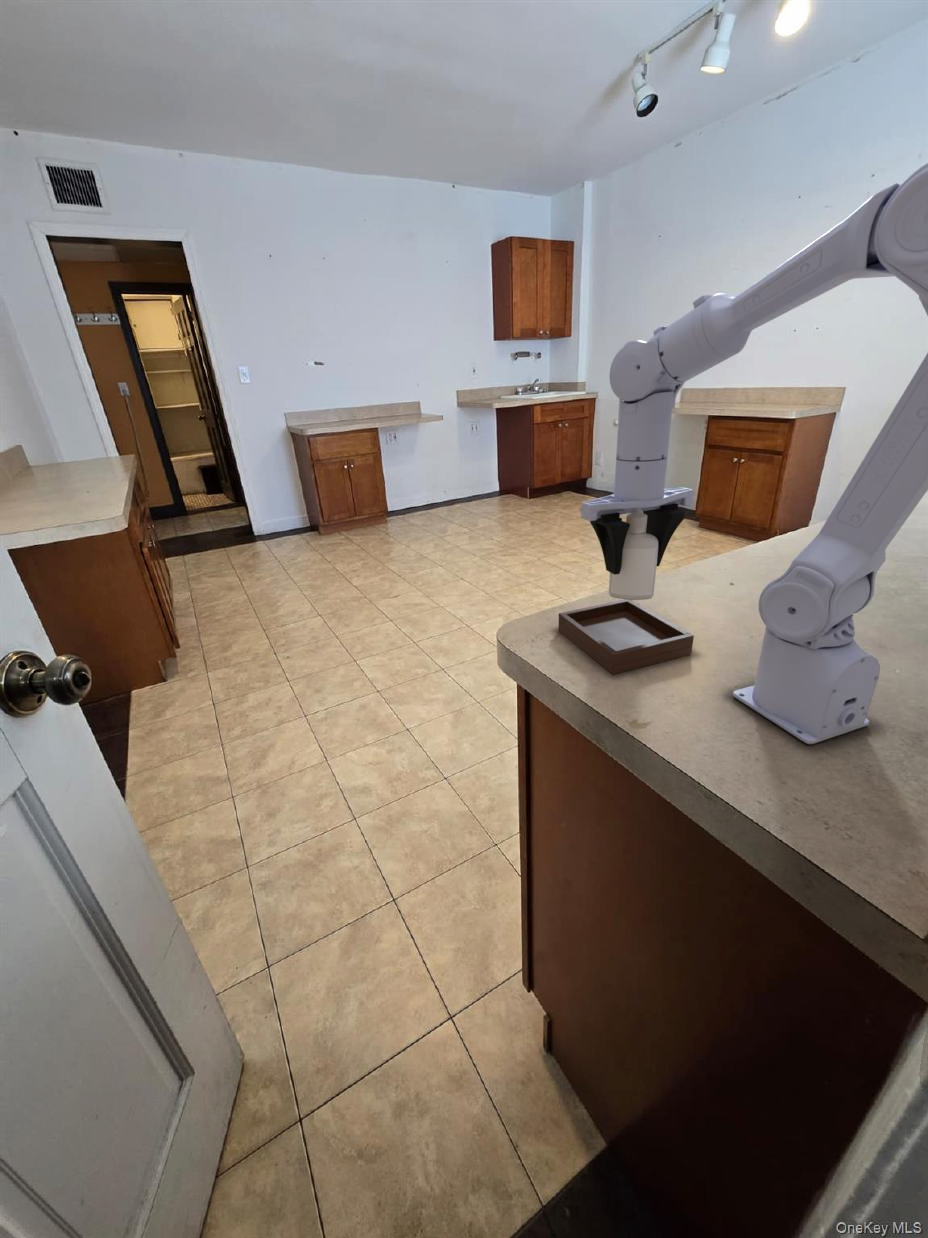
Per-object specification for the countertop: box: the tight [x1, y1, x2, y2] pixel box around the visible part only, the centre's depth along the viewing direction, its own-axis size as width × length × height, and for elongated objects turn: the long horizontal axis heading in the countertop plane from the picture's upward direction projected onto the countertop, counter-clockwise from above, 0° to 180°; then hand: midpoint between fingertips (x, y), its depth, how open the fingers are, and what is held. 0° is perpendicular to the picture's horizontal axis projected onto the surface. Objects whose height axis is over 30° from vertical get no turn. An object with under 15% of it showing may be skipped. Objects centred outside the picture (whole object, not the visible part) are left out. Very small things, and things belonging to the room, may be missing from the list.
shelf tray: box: [558, 599, 695, 675], centre depth 69 cm, size 14×12×3 cm
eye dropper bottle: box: [608, 508, 658, 601], centre depth 65 cm, size 4×6×12 cm
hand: (633, 568), depth 65 cm, fingers closed on eye dropper bottle, 5 cm apart
